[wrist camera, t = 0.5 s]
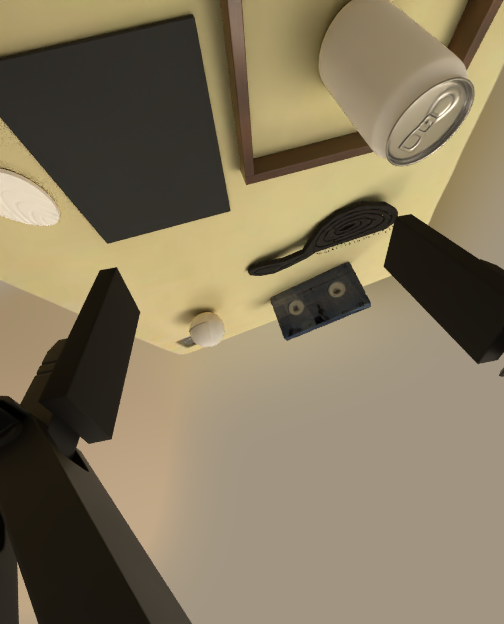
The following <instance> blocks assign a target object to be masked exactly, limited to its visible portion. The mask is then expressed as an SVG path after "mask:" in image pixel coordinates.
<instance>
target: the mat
mask: <svg viewBox="0 0 504 624" xmlns="http://www.w3.org/2000/svg"><path fill="white" fill-rule="evenodd" d="M0 117H1V118H2V120H3V121H4V122H5V123H6V124H7V126H8V127H9V128H10V129H11V130H12V131H13V133H14V134H15V135H16V136H17V137H18V139H19V140H20V141H21V142H22V143H23V144H24V146H25V147H26V148H27V149H28V150H29V152H30V153H31V154H32V155H33V156H34V157H35V159H36V160H37V161H38V162H39V163H40V165H41V166H42V167H43V168H44V169H45V170H46V172H47V173H48V174H49V175H50V176H51V178H52V179H53V180H54V181H55V182H56V183H57V185H58V186H59V187H60V188H61V189H62V191H63V192H64V193H65V194H66V195H67V196H68V198H69V199H70V200H71V201H72V202H73V204H74V205H75V206H76V207H77V208H78V210H79V211H80V212H81V213H82V214H83V215H84V217H85V218H86V219H87V220H88V221H89V223H90V224H91V225H92V226H93V227H94V228H95V230H96V231H97V232H98V233H99V234H100V236H101V237H102V238H103V239H104V240H105V241H106V243H107V244H108V243H112V242H116V241H120V240H123V239H127V238H131V237H135V236H138V235H142V234H146V233H150V232H153V231H157V230H161V229H165V228H169V227H172V226H176V225H180V224H184V223H187V222H191V221H195V220H199V219H202V218H206V217H210V216H214V215H217V214H221V213H225V212H229V211H230V206H229V200H228V195H227V190H226V184H225V179H224V174H223V168H222V163H221V157H220V152H219V147H218V141H217V136H216V131H215V125H214V120H213V115H212V109H211V104H210V99H209V93H208V88H207V83H206V77H205V72H204V66H203V61H202V56H201V50H200V45H199V40H198V34H197V29H196V24H195V18H194V16H193V15H188V16H184V17H179V18H175V19H170V20H166V21H161V22H157V23H152V24H148V25H144V26H139V27H135V28H130V29H126V30H121V31H117V32H112V33H108V34H103V35H99V36H95V37H90V38H86V39H81V40H77V41H72V42H68V43H63V44H59V45H55V46H50V47H46V48H41V49H37V50H32V51H28V52H23V53H19V54H14V55H10V56H6V57H1V58H0Z"/></svg>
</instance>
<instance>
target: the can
mask: <svg viewBox="0 0 504 624" xmlns="http://www.w3.org/2000/svg"><path fill="white" fill-rule="evenodd" d="M319 73H320V77H321V79H322V81H323V83H324V85H325V86H326V88H327V89H328V91H329V92H330V94H331V95H332V96H333V98H334V99H335V100H336V102H337V103H338V105H339V106H340V107H341V109H342V110H343V111H344V113H345V114H346V116H347V117H348V118H349V120H350V121H351V122H352V124H353V125H354V126H355V128H356V129H357V131H358V132H359V133H360V135H361V136H362V137H363V139H364V140H365V141H366V143H367V144H368V145H369V147H370V148H371V149H372V150H373V152H374V153H376V154H377V155H378V156H380V157H382V158H385V159H388V161H389V162H390V163H391V164H393V165H396V166H407V165H411V164H414V163H417V162H419V161H421V160H423V159H425V158H426V157H428V156H430V155H431V154H432V153H434V152H435V151H437V150H438V149H439V148H440V147H441V146H443V145H444V144H445V143H446V142H447V141H448V140H449V139H450V138H451V137H452V136H453V135H454V133H455V132H456V131H457V130H458V129H459V127H460V126H461V125H462V123H463V122H464V120H465V118H466V117H467V115H468V113H469V111H470V109H471V106H472V103H473V100H474V87H473V84H472V83H471V81H470V80H468V76H467V71H466V67H465V65H464V64H463V62H462V61H461V60H460V59H459V58H458V57H457V56H456V55H455V54H454V53H453V52H451V51H450V50H449V49H448V48H447V47H445V46H444V45H443V44H442V43H441V42H439V41H438V40H437V39H436V38H435V37H433V36H432V35H431V34H430V33H429V32H427V31H426V30H425V29H424V28H422V27H421V26H420V25H419V24H418V23H416V22H415V21H414V20H413V19H411V18H410V17H409V16H408V15H407V14H405V13H404V12H403V11H402V10H400V9H399V8H398V7H397V6H395V5H394V4H393V3H392V2H390V1H389V0H351V1H350V2H349V3H348V4H346V5H345V6H344V7H343V8H342V9H341V10H340V12H339V13H338V14H337V15H336V17H335V18H334V20H333V21H332V23H331V24H330V26H329V28H328V30H327V32H326V34H325V36H324V39H323V42H322V45H321V49H320V54H319Z"/></svg>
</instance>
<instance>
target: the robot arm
mask: <svg viewBox="0 0 504 624" xmlns="http://www.w3.org/2000/svg"><path fill="white" fill-rule="evenodd" d="M384 267H385V268H386V269H387V271H388V272H389V273H390V274H391V275H392V276H393V277H394V278H395V279H396V280H397V281H398V282H399V283H400V284H401V285H402V286H403V287H404V288H405V289H406V290H407V291H408V292H409V293H410V294H411V295H412V296H413V297H414V298H415V299H416V301H417V302H418V303H419V304H420V305H421V306H422V307H423V308H424V309H425V310H426V311H427V312H428V313H429V314H430V315H431V316H432V317H433V318H434V319H435V320H436V321H437V322H438V323H439V324H440V325H441V326H442V327H443V329H445V331H446V332H447V333H448V334H449V335H450V336H451V337H452V338H453V339H454V340H455V341H456V342H457V343H458V344H459V345H460V346H461V347H462V348H463V349H464V350H465V351H466V352H467V353H468V354H469V355H470V356H471V357H472V359H473V360H474V361H475V362H476V363H477V364H480V363H485V362H490V361H495V360H498V359H499V358H500V356H501V355H502V354H503V353H504V270H503V269H502V268H500V267H498V266H497V265H494V264H492V263H489V262H487V261H484V260H481V259H480V260H479V259H478V258H476V257H475V256H473V255H472V254H470V253H469V252H467V251H466V250H464V249H463V248H461V247H460V246H458V245H457V244H455V243H454V242H452V241H451V240H449V239H448V238H446V237H445V236H443V235H442V234H440V233H439V232H437V231H436V230H434V229H433V228H431V227H430V226H428V225H427V224H425V223H424V222H422V221H421V220H419V219H418V218H416V217H415V216H413V215H412V214H410V215H404V216H399V217H396V218H395V222H394V226H393V230H392V234H391V238H390V242H389V247H388V251H387V255H386V259H385V263H384ZM139 315H140V311H139V309H138V307H137V305H136V303H135V301H134V299H133V298H132V296H131V294H130V292H129V290H128V288H127V286H126V284H125V282H124V280H123V278H122V276H121V274H120V273H119V271H118V269H117V267H116V268H110V269H105V270H100V271H99V273H98V275H97V277H96V279H95V282H94V284H93V286H92V288H91V290H90V292H89V294H88V296H87V298H86V301H85V303H84V305H83V307H82V309H81V311H80V313H79V315H78V318H77V320H76V322H75V324H74V326H73V328H72V330H71V332H70V334H69V337H68V338H67V339H62V340H59V341H57V343H56V344H55V345H54V346H53V347H52V348H51V349H50V350H49V351H48V352H47V354H46V356H45V358H44V360H43V362H42V366H40V367H39V369H38V371H37V375H36V376H35V377H34V379H33V381H32V383H31V385H30V387H29V389H28V390H27V392H26V394H25V396H24V398H23V400H22V402H21V404H18V403H17V402H15V401H14V400H13V399H12V398H10V397H9V396H0V624H19V615H18V577H17V576H18V574H17V562H18V565H19V568H20V571H21V574H22V577H23V579H24V583H25V586H26V589H27V591H28V594H29V597H30V600H31V603H32V606H33V609H34V612H35V615H36V618H37V621H38V624H192V623H191V622H190V620H189V618H188V617H187V615H186V614H185V612H184V611H183V609H182V608H181V606H180V604H179V603H178V601H177V600H176V598H175V597H174V595H173V594H172V592H171V591H170V589H169V587H168V586H167V585H166V583H165V581H164V580H163V578H162V577H161V575H160V573H159V572H158V570H157V569H156V567H155V566H154V564H153V563H152V561H151V559H150V558H149V557H148V555H147V553H146V552H145V550H144V549H143V547H142V545H141V544H140V543H139V541H138V539H137V538H136V536H135V535H134V533H133V532H132V530H131V529H130V527H129V525H128V524H127V522H126V521H125V519H124V518H123V516H122V514H121V513H120V511H119V510H118V508H117V507H116V505H115V504H114V502H113V501H112V499H111V497H110V496H109V494H108V493H107V491H106V490H105V488H104V487H103V485H102V483H101V482H100V480H99V479H98V477H97V476H96V474H95V473H94V471H93V470H92V468H91V466H90V465H89V463H88V462H87V460H86V459H85V457H84V455H83V454H82V452H81V451H79V450H78V449H77V448H76V447H77V444H78V440H79V437H81V438H82V439H84V440H85V441H86V442H87V443H89V444H90V443H95V442H100V441H105V440H110V439H112V435H113V431H114V426H115V421H116V417H117V413H118V408H119V404H120V399H121V395H122V391H123V386H124V381H125V377H126V373H127V368H128V364H129V359H130V355H131V351H132V346H133V342H134V337H135V333H136V328H137V324H138V319H139ZM499 376H502V377H503V376H504V368H503V369H502V370H501V372H500V374H499Z"/></svg>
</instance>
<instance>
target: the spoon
mask: <svg viewBox="0 0 504 624" xmlns="http://www.w3.org/2000/svg"><path fill="white" fill-rule="evenodd" d="M1 215H2V216H3V217H7V218H9V219H12V220H14V221H19V222H23V223H27V224H29V225H30V224H33V225H38V226H39V225H40V226H41V225H42V226H43V227H44V226H47V225H51V226H53V225H54V224H56V223H57V222H59V219H60V211H59V208H58V206H57V204H56V203H55V202H54V200H53V199H52V198H51V197H50V196H49V195H48V194H47V193H46V192H45V191H44V190H43V189H42V188H40V187H39V186H38V185H37V184H35V183H34V182H32V181H30V180H29V179H27V178H26V177H23V176H21V175H19V174H17V173H14V172H11V171H8V170H5V169H0V216H1Z"/></svg>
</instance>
